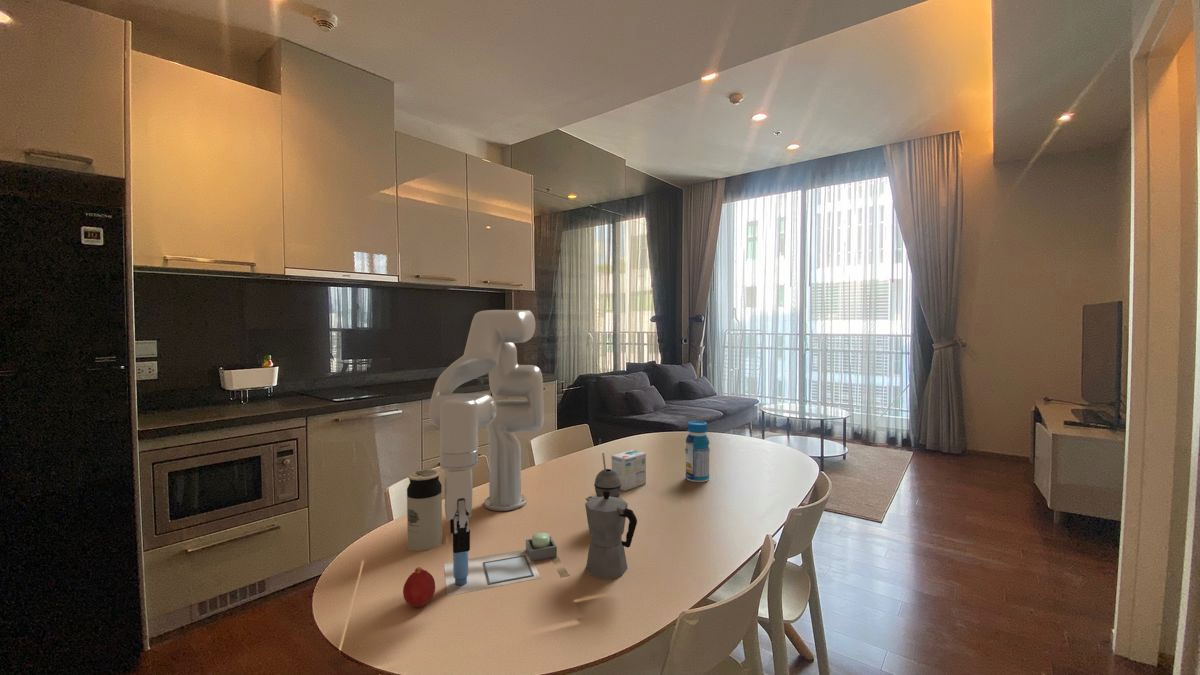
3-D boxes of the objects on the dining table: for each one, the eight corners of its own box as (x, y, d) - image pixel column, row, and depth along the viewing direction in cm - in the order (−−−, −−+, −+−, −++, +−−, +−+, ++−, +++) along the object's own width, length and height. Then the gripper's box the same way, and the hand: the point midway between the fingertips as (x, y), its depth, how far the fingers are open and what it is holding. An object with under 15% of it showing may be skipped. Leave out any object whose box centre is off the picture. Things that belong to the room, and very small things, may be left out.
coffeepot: (571, 567, 106) (570, 487, 105) (601, 553, 112) (601, 478, 112) (620, 595, 95) (620, 506, 94) (651, 578, 101) (650, 495, 101)
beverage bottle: (704, 484, 161) (704, 426, 160) (681, 480, 165) (681, 423, 165) (713, 477, 168) (713, 421, 167) (690, 473, 172) (690, 419, 172)
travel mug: (433, 535, 122) (432, 466, 122) (448, 546, 116) (447, 473, 116) (402, 546, 117) (401, 473, 116) (416, 557, 111) (415, 481, 111)
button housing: (525, 550, 113) (525, 539, 113) (550, 546, 115) (550, 535, 115) (531, 562, 107) (531, 550, 107) (556, 557, 109) (556, 546, 109)
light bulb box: (632, 479, 167) (632, 449, 166) (646, 484, 162) (646, 452, 162) (610, 486, 160) (610, 454, 159) (625, 491, 155) (624, 458, 154)
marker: (452, 580, 99) (452, 533, 99) (468, 577, 100) (467, 531, 100) (453, 588, 96) (453, 539, 96) (469, 585, 97) (468, 537, 97)
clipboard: (439, 564, 107) (439, 561, 107) (550, 545, 116) (550, 542, 116) (441, 603, 92) (441, 598, 92) (569, 578, 101) (569, 574, 101)
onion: (409, 599, 94) (408, 559, 93) (438, 598, 94) (438, 558, 94) (399, 617, 88) (398, 575, 88) (430, 616, 88) (430, 573, 88)
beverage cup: (619, 534, 123) (618, 457, 122) (591, 531, 124) (591, 456, 124) (623, 522, 130) (623, 450, 129) (597, 520, 131) (597, 449, 131)
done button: (530, 544, 112) (530, 534, 112) (547, 541, 113) (547, 531, 113) (534, 551, 108) (534, 541, 108) (551, 548, 110) (551, 538, 110)
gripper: (439, 451, 104) (439, 528, 104) (441, 471, 88) (441, 563, 88) (474, 448, 107) (474, 523, 107) (482, 467, 91) (483, 556, 91)
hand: (459, 541), depth 98 cm, fingers open, 9 cm apart
